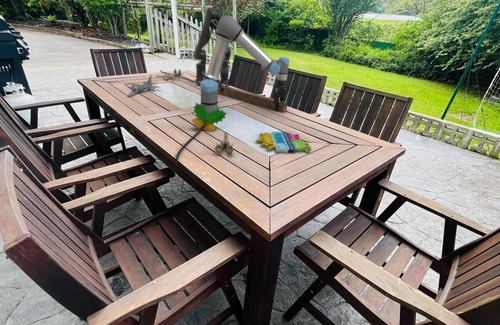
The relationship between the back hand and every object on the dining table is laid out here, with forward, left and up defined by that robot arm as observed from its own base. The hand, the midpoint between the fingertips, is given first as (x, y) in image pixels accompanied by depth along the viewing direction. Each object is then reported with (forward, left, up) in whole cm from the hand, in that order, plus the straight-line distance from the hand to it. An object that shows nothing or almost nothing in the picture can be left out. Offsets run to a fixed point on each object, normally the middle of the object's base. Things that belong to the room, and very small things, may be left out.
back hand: (224, 91), depth 236 cm
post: (+29, +6, -3) cm, 29 cm away
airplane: (-41, -58, -3) cm, 71 cm away
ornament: (+63, -54, -3) cm, 83 cm away
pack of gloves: (+103, -30, -3) cm, 107 cm away
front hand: (+57, +12, -2) cm, 59 cm away
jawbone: (+94, -64, -3) cm, 114 cm away
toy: (-81, -13, -3) cm, 82 cm away
